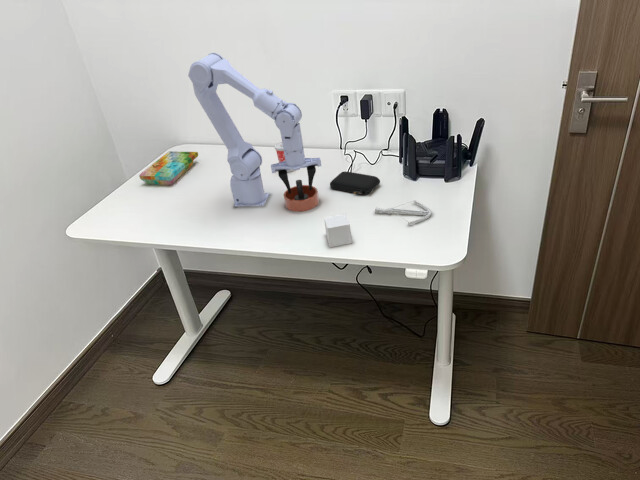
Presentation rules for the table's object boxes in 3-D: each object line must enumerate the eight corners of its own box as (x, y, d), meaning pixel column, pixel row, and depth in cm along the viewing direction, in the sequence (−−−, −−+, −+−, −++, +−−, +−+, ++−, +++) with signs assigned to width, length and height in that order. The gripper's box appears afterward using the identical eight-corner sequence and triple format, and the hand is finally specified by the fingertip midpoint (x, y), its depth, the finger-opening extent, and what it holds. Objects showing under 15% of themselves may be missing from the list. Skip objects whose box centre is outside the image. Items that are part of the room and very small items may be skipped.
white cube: (326, 236, 150) (323, 217, 146) (347, 232, 151) (345, 213, 147) (330, 247, 145) (327, 228, 142) (351, 243, 146) (349, 224, 142)
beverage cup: (286, 164, 190) (280, 126, 182) (300, 167, 187) (293, 128, 179) (275, 171, 187) (267, 132, 178) (288, 174, 183) (281, 135, 175)
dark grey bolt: (294, 206, 164) (290, 184, 160) (296, 199, 167) (293, 177, 163) (307, 206, 163) (304, 184, 159) (310, 199, 167) (306, 177, 162)
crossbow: (432, 206, 160) (433, 200, 159) (428, 229, 150) (428, 222, 149) (379, 201, 163) (379, 195, 161) (371, 223, 153) (371, 217, 151)
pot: (282, 213, 162) (280, 201, 160) (289, 196, 170) (287, 185, 168) (316, 212, 161) (314, 200, 158) (321, 196, 169) (320, 184, 167)
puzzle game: (138, 173, 183) (168, 148, 198) (142, 185, 186) (171, 160, 201) (169, 174, 180) (197, 149, 196) (172, 187, 183) (200, 161, 198)
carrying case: (326, 191, 171) (367, 199, 165) (324, 183, 169) (366, 190, 163) (342, 177, 179) (382, 184, 172) (341, 168, 177) (382, 175, 170)
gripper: (268, 157, 151) (276, 200, 159) (319, 150, 152) (325, 193, 160) (267, 147, 157) (275, 189, 165) (317, 140, 158) (322, 182, 166)
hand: (300, 190), depth 163 cm, fingers open, 6 cm apart
